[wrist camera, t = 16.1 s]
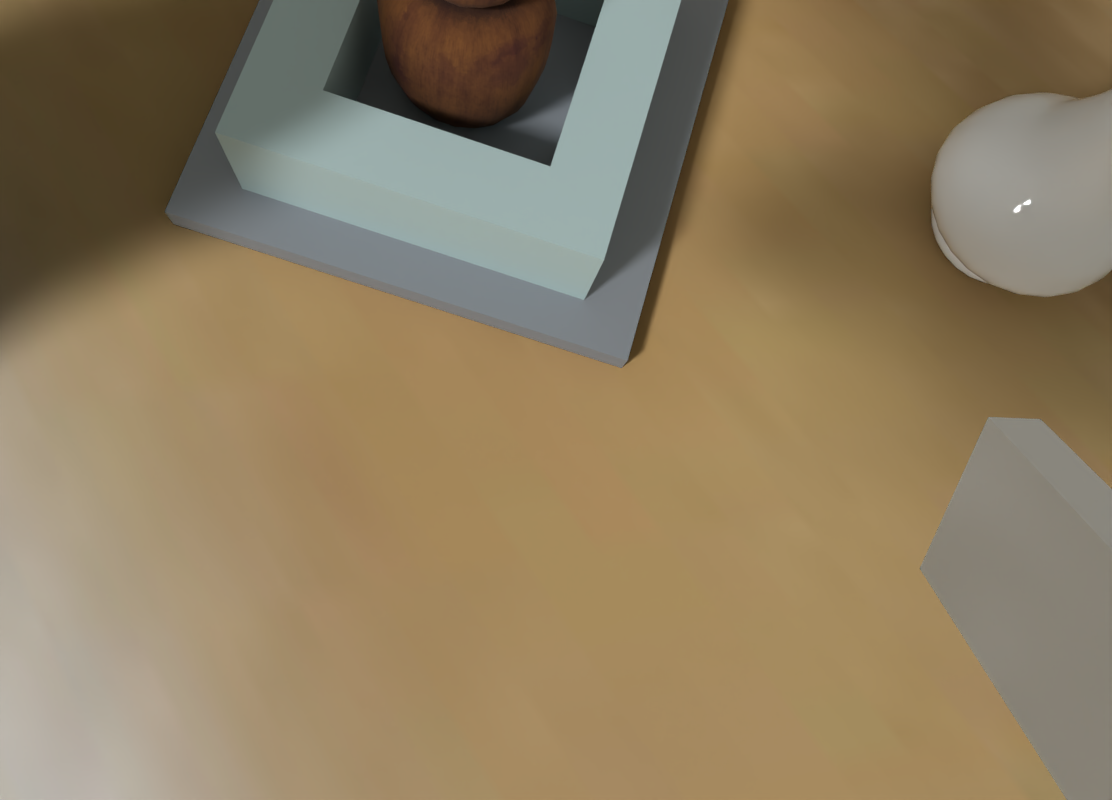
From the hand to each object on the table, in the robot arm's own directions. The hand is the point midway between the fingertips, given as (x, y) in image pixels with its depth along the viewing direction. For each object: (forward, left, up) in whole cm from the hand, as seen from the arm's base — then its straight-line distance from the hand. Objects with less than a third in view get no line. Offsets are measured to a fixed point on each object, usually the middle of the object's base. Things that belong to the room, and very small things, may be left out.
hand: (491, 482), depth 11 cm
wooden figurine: (-6, +20, -23) cm, 31 cm away
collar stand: (-6, +20, -24) cm, 32 cm away
